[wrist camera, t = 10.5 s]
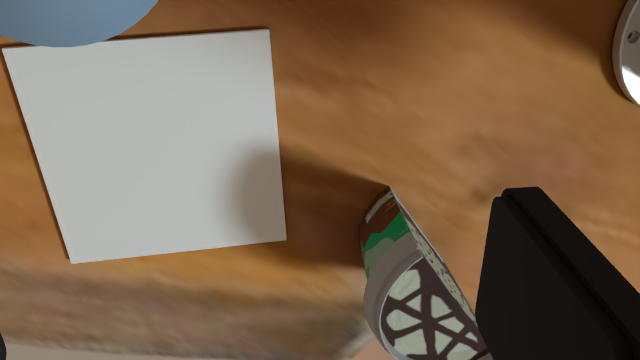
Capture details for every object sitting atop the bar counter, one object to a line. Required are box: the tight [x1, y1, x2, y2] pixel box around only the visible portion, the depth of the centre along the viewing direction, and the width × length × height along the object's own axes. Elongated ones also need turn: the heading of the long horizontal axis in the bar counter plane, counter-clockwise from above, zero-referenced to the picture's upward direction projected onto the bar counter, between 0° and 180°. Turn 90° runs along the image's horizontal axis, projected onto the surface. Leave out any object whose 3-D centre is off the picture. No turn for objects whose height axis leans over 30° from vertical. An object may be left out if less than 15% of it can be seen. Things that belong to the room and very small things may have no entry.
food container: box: [359, 187, 493, 360], centre depth 39 cm, size 12×6×10 cm, turn 34°
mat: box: [2, 29, 287, 264], centre depth 37 cm, size 16×16×1 cm
